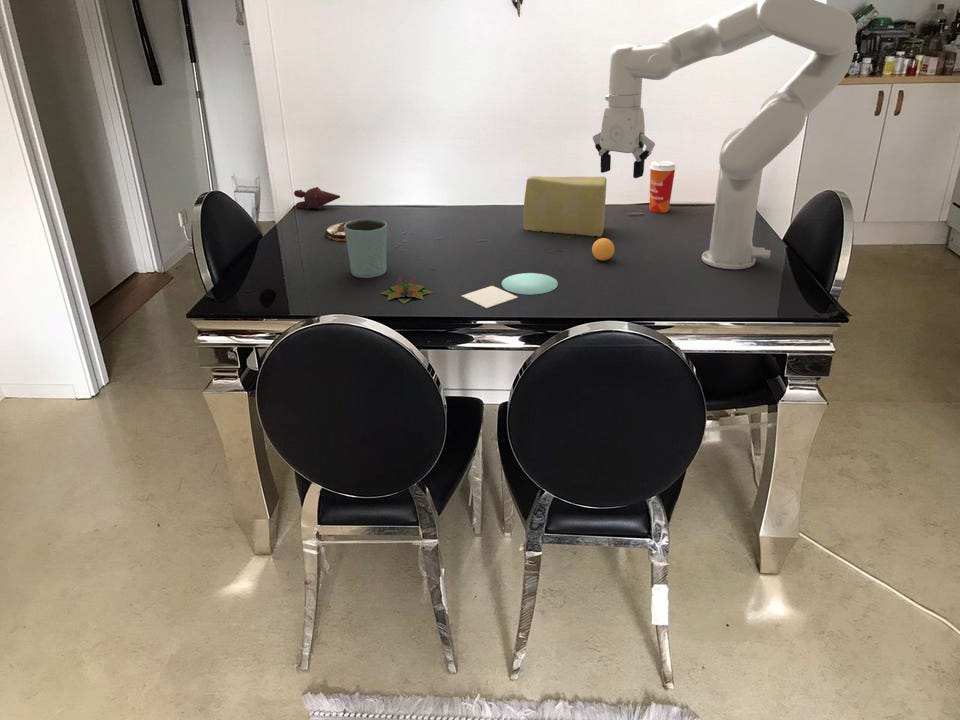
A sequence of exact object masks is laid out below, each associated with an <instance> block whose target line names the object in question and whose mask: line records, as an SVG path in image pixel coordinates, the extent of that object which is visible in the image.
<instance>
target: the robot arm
mask: <svg viewBox="0 0 960 720" xmlns="http://www.w3.org/2000/svg"><path fill="white" fill-rule="evenodd" d="M857 30H858V26H857V22H856V19H855V18H854V16H853V15H852V14H851V13H850V12H849V11H848V10H846V9H845V8H842V7H835V6H833V5H830V4H826V3H823V2H821V1H818V0H747V1H744V2H743V3H740V4H739V5H735V6H733V7H731V8H729V9H727V10H725V11H722V12H719V13H718V14H716V15H714V16H711V17H708V19H706V20H705V21H703V22H701V23H699V24H697V25H695V26H694V27H690V28H689V29H687V30H683V31H681V32H680V33H677V34H675V35H672V36H670V37H667V38H666V39H663V40H660V41H659V42H657V43H655V44H652V45H648V46H641V45H640V44H637V43H636V44H635V43H628V44H627V43H626V44H624V43H623V44H616V45H614V46H613V47H612V48H611V50H610V56H609V80H608V81H609V85H608V94H606V95H605V98H604V99H605V101H608V103H607V104H608V106H606V107H605V109H604V112H603V117H602V122H601V128H600V132H598V133H597V134H595V135H593V136H592V140H593V144H594V145H595V146H594V147H595V150H596V151H597V152H598V156H599V157H600V164H599V165H600V166H599V167H600V173H602V174H604V173H607V172H609V171H611V162H612V160H611V159H612V156H611V155H612V154H610V152H615V153H623V154H632V155H633V156H634V159H635V161H634V162H633V171H632V173H633V175H632V176H633V179H638V178H641V177H643V176H644V172H645V161H646V160H647V159H648V157H649V156H651V154H652V152H653V150H654V148H655V146H656V142H654V141H653V140H652V139H650V138H649V137H648V136H646V135H645V133H646V132H645V130H646V129H645V127H646V126H645V115H644V114H645V113H644V108H643V107H642V92H643V91H642V90H643V88H642V87H643V80H644V79H645V80H646V79H647V80H653V81H661V80H664V79H667V78H668V77H670V75H671V74H672V73H674V72H677V71H679V70H681V69H683V68H686V67H688V66H689V65H690V66H691V65H693V64H695V63H698V62H700V61H703V60H706V59H709V58H713V57H722V56H725V55H728V54H732V53H733V52H734V53H735V52H736V51H738V50H741V49H743V48H746V47H747V46H750V45H752V44H755V43H757V42H760V41H762V40H765V39H767V38H769V37H771V36H774V37H775V38H778V39H781V40H783V41H786V42H789V43H790V44H794V45H796V46H799V47H802V48H805V49H807V50H810V51H811V52H810V54H809V56H808V57H807V59H806V60H805V61H804V63H803V64H802V65H801V66H800V67H799V68H798V69H796V71H795V72H794V73H793V74H792V76H790V78H788V79H787V80H786V81H785V82H784V83H783V84H782V85H781V86H780V88H778V89H777V90H776V91H775V92H774V93H772V94H771V95H770V96H769V97H768V98H766V99H765V101H764V102H763V103H762V104H761V107H760V108H759V111H758V112H757V113H756V114H755V115H754V116H753V117H752V118H751V119H750V120H749V121H748V122H747V123H746V124H745V125H744V126H743V127H740V128H737V129H734V130H733V131H731V132H730V133H729V134H728V135H727V137H725V139H724V141H723V143H722V146H721V148H720V149H721V150H720V151H719V152H720V153H719V156H718V158H719V162H718V163H719V170H718V179H717V186H716V193H715V194H716V196H715V201H714V210H713V218H712V225H711V234H710V241H709V248H708V250H705V251H704V252H702V254H701V260H702V261H703V263H704V264H706V265H709V266H710V267H714V268H717V269H718V268H719V269H725V270H743V269H744V270H745V269H748V268H751V267H753V266H754V265H755V264H756V258H762V259H770V257H771V251H772V250H769V249H766V248H765V247H755V246H754V245H753V234H754V230H755V229H754V227H755V222H756V215H757V208H758V202H759V198H760V197H759V196H760V189H761V183H762V176H763V169H764V168H765V167H766V166H768V165H769V163H771V162H772V161H773V160H774V159H775V158H776V157H778V155H780V154H781V153H782V152H783V151H784V150H785V149H786V148H787V147H788V146H789V145H790V144H791V143H792V142H793V141H794V140H795V139H796V138H797V137H798V136H799V134H800V133H801V132H802V130H803V128H804V126H805V123H806V118H807V117H808V116H809V115H810V114H811V113H812V112H813V111H814V110H815V109H816V108H817V107H818V106H819V105H820V104H821V103H822V102H823V101H824V99H826V97H828V96H829V95H830V94H831V93H832V92H833V91H834V90H835V88H836V87H838V85H839V84H840V83H841V82H842V80H843V79H844V78H845V76H846V75H847V73H848V71H849V69H850V67H851V65H852V62H853V58H854V55H855V51H856V36H857V32H858V31H857ZM644 145H645V146H644ZM644 147H645V150H644Z"/></svg>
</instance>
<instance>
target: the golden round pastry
mask: <svg viewBox="0 0 960 720" xmlns="http://www.w3.org/2000/svg"><path fill="white" fill-rule="evenodd" d="M349 221H350V220H347V221H345V222H340V223H335V224H333V225H331V226H329V227H327V228H326V229H325V235H326V236H327V238H328V239H330V240H333V241H337V242H347V241H346V235H345V230H344V225H345V224H346V223H347V222H349Z"/></svg>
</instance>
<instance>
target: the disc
mask: <svg viewBox="0 0 960 720" xmlns="http://www.w3.org/2000/svg"><path fill="white" fill-rule="evenodd" d="M558 284H559V283H558V280H557V279H556V278H554V277H553V276H550V275H548V274H544V273H538V272H537V273H536V272H525V273H523V272H522V273H517V274H512V275H508V276H507V277H505V278H504V279H503V280H502V281H501V286H502V288H503V289H504V290H506V292H509V293H513V294H517V295H527V296H528V295H529V296H530V295H532V296H533V295H541V294H546V293H549V292H552V291H554V290H555V289H556V288H557V287H558Z"/></svg>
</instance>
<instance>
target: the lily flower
mask: <svg viewBox="0 0 960 720" xmlns="http://www.w3.org/2000/svg"><path fill="white" fill-rule="evenodd" d="M413 276H414V275H413V274H411V276H410V277H409V278H408V280H407V279H404V278H403V276H402V275H400V276H399V277H398V279H399V282H400V283H401V284H400V283H398V282H397V281H395V284H397V285H394V286H390V289H389V290H385V291H383V292H380V293H379V294H381V295H386V296H387V299H386V300H385V301H388V300H389V301H390V300H392V299H395V298H397V300H398V301H399V302H401V303H402V304H406V303H407V302H409V301H411V300H412V299H413V298H417V299H420V300H424V299H425V298H424V295H427V294H433V293H435V292H433V291H432V290H429V289H423V288H426V286H424V285H419V284H415V282H413V280H414V279H416V277H415V276H414V277H413ZM412 282H413V283H412ZM401 292H404V294H405V295H407V294H408V293H409V292H412V294H411V295H408V297H409V298H406V299H405V300H404V298H402V297H404V295H401Z"/></svg>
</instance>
